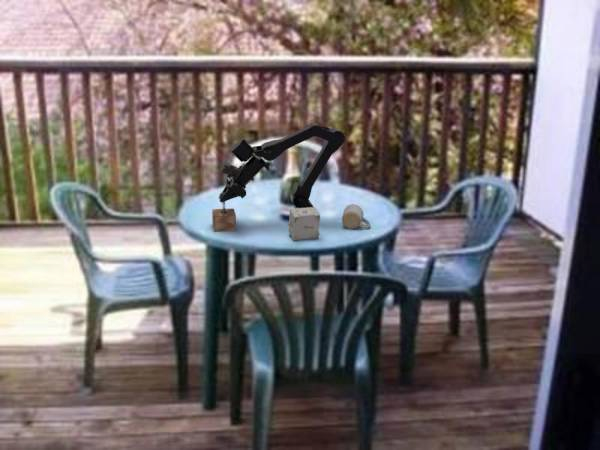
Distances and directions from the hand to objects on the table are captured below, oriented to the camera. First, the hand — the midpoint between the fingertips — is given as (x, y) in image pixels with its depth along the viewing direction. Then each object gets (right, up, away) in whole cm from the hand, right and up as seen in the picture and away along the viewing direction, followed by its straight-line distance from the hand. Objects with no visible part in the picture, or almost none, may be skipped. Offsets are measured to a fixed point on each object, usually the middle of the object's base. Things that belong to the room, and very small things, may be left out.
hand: (219, 200), depth 275 cm
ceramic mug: (+50, -10, +8) cm, 52 cm away
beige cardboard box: (+31, -14, -5) cm, 34 cm away
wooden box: (+1, -10, +4) cm, 11 cm away
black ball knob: (+1, -6, +2) cm, 6 cm away
